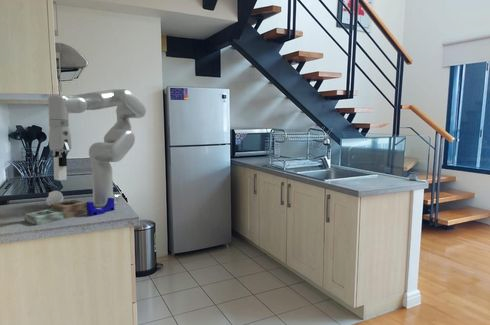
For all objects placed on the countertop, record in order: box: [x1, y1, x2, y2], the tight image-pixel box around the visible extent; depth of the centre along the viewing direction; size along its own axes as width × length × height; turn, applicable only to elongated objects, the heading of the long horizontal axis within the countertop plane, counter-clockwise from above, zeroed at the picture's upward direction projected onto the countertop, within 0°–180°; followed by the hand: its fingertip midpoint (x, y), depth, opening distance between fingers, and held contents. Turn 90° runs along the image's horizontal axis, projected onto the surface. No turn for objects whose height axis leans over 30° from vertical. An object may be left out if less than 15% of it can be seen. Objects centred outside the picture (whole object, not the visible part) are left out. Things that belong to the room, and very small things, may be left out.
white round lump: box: [45, 190, 64, 207], centre depth 171 cm, size 8×8×8 cm
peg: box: [53, 157, 68, 181], centre depth 152 cm, size 4×4×10 cm
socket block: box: [23, 199, 87, 226], centre depth 152 cm, size 22×10×5 cm, turn 147°
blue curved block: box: [86, 198, 116, 217], centre depth 160 cm, size 12×4×6 cm, turn 143°
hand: (60, 165), depth 151 cm, fingers closed on peg, 3 cm apart
